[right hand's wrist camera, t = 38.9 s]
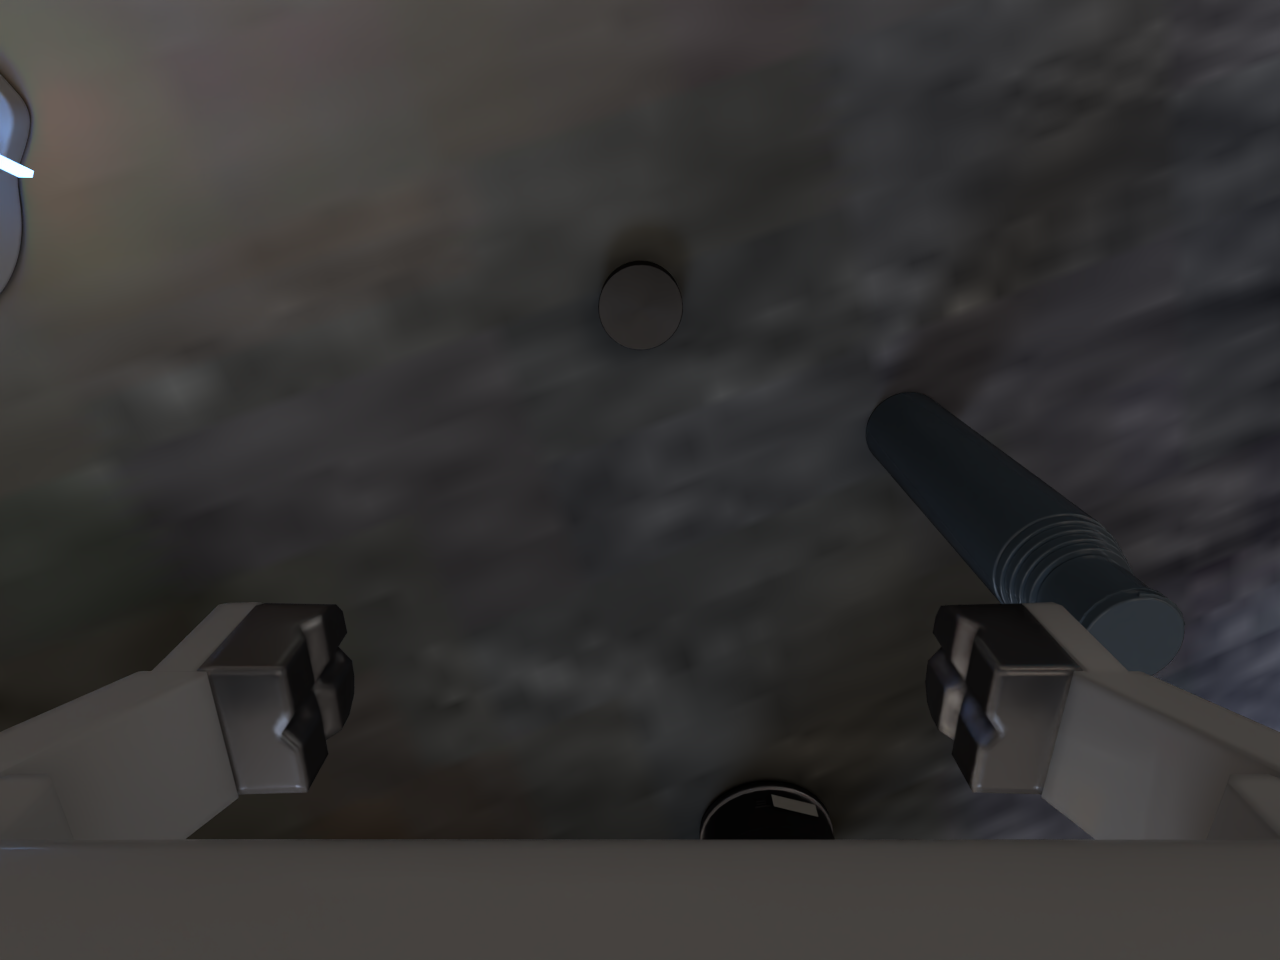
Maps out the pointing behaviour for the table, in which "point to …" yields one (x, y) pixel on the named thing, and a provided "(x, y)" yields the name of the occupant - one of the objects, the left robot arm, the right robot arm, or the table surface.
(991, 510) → the bottle
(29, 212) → the table surface
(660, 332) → the cap
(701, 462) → the table surface
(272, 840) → the right robot arm
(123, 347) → the table surface
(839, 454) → the table surface
